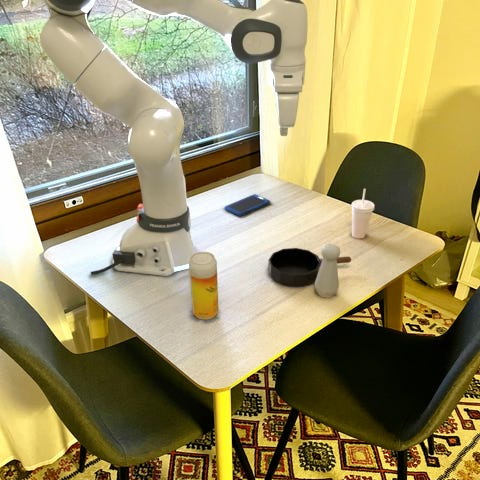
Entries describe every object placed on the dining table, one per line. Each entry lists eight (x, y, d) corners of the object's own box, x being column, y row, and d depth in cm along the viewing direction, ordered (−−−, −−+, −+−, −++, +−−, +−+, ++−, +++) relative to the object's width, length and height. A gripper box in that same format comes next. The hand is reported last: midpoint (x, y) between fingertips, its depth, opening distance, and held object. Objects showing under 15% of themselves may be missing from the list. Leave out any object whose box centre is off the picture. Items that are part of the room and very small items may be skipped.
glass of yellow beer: (220, 319, 119) (218, 263, 110) (194, 322, 118) (190, 266, 109) (216, 303, 124) (213, 249, 114) (190, 307, 123) (186, 252, 114)
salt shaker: (336, 301, 124) (343, 254, 116) (312, 298, 125) (317, 252, 117) (338, 287, 129) (344, 241, 121) (315, 285, 130) (319, 239, 122)
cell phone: (270, 202, 166) (270, 200, 166) (239, 216, 159) (239, 214, 158) (254, 195, 171) (254, 193, 170) (223, 209, 163) (223, 206, 163)
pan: (274, 289, 128) (274, 277, 126) (264, 261, 139) (265, 250, 136) (357, 282, 131) (359, 270, 128) (342, 255, 141) (344, 244, 139)
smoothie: (367, 229, 152) (374, 184, 144) (371, 240, 147) (379, 194, 139) (345, 230, 152) (351, 185, 143) (349, 241, 147) (356, 195, 138)
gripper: (271, 65, 132) (269, 121, 140) (274, 86, 115) (272, 148, 124) (295, 65, 131) (292, 121, 140) (303, 86, 115) (299, 148, 124)
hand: (283, 134), depth 132 cm, fingers closed
